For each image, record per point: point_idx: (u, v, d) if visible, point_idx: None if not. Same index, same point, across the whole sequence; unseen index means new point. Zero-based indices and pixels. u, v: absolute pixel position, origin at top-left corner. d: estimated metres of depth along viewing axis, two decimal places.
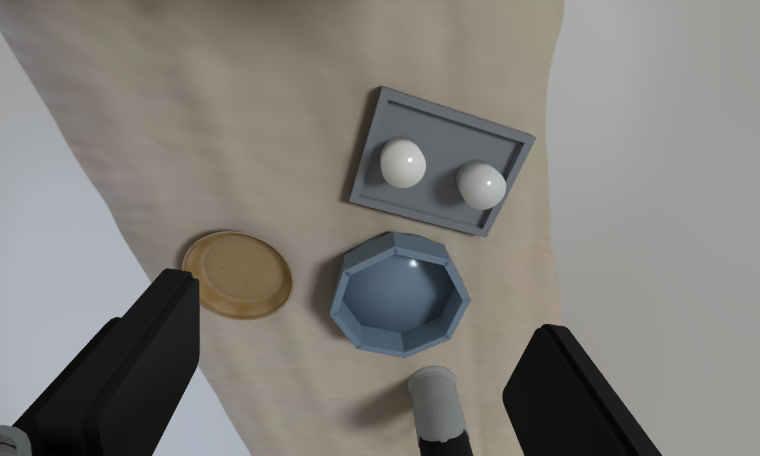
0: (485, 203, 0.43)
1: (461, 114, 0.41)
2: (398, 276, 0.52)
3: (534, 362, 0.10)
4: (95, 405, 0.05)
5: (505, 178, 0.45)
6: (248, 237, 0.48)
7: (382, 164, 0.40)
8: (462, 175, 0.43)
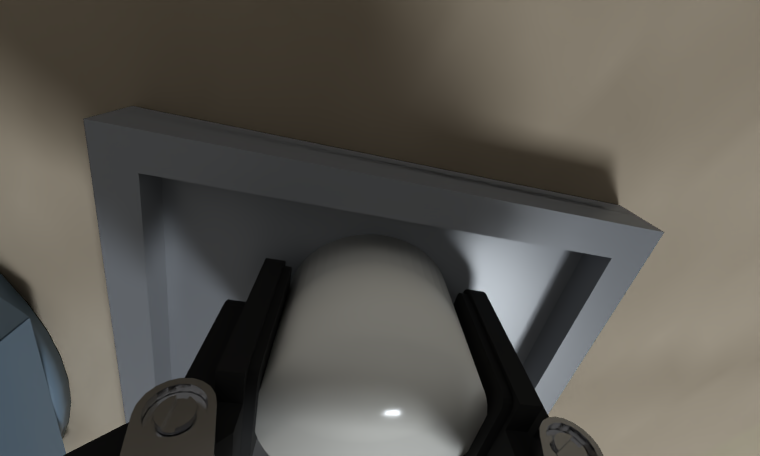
0: None
1: None
2: None
3: None
4: (252, 364, 0.07)
5: None
6: None
7: (378, 340, 0.07)
8: None
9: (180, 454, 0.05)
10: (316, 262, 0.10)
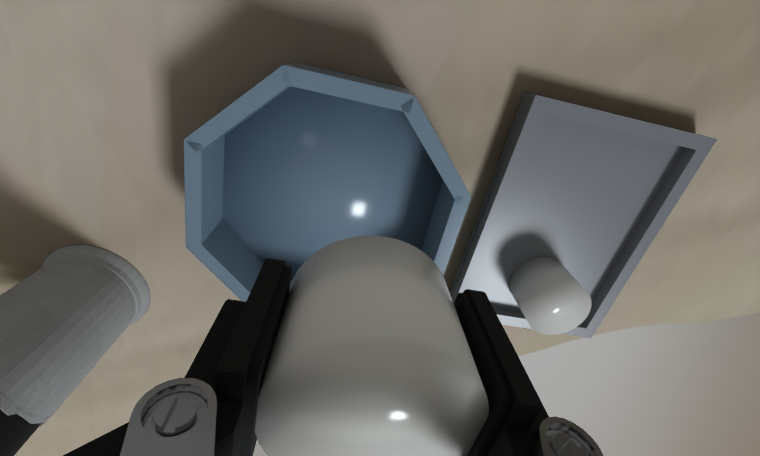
0: (537, 315, 0.28)
1: (644, 251, 0.30)
2: (361, 198, 0.28)
3: None
4: (252, 364, 0.07)
5: None
6: None
7: (379, 342, 0.07)
8: (565, 272, 0.29)
9: (180, 454, 0.05)
10: (316, 263, 0.10)
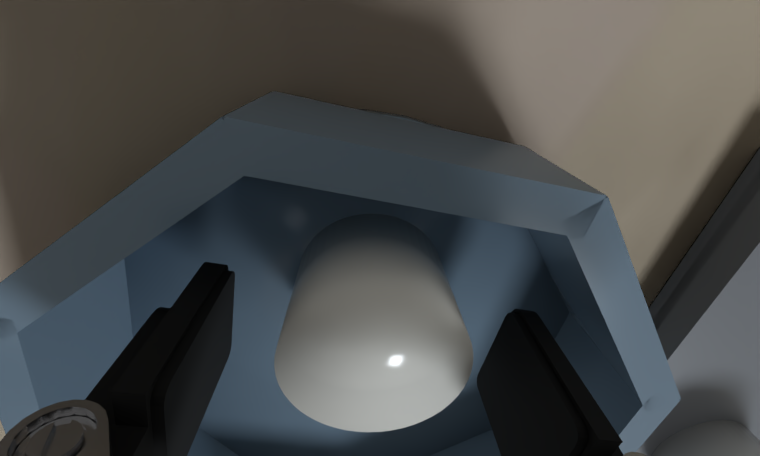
0: None
1: None
2: None
3: (504, 345, 0.10)
4: (159, 383, 0.06)
5: None
6: None
7: (380, 291, 0.08)
8: None
9: None
10: (325, 237, 0.11)
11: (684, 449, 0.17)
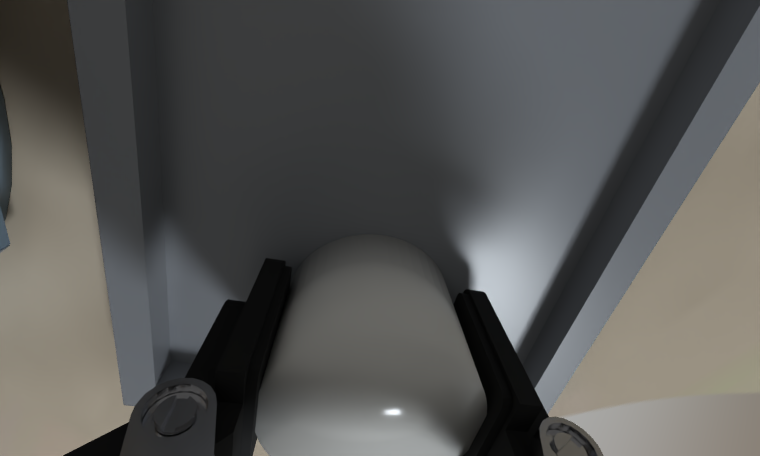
0: (297, 440, 0.08)
1: (671, 211, 0.09)
2: None
3: None
4: (252, 364, 0.07)
5: None
6: None
7: None
8: (408, 282, 0.08)
9: (180, 454, 0.05)
10: None
11: (296, 279, 0.10)
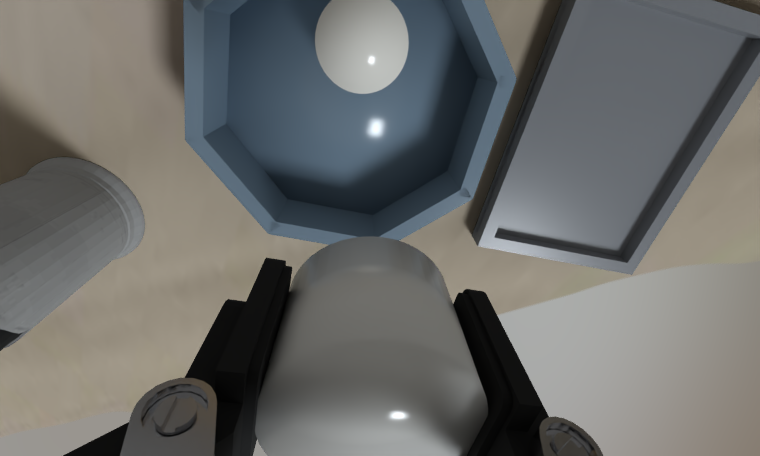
0: (298, 443, 0.08)
1: (698, 168, 0.26)
2: (384, 99, 0.24)
3: None
4: (253, 364, 0.07)
5: (573, 250, 0.30)
6: None
7: None
8: (409, 284, 0.08)
9: (180, 454, 0.05)
10: None
11: (296, 281, 0.10)
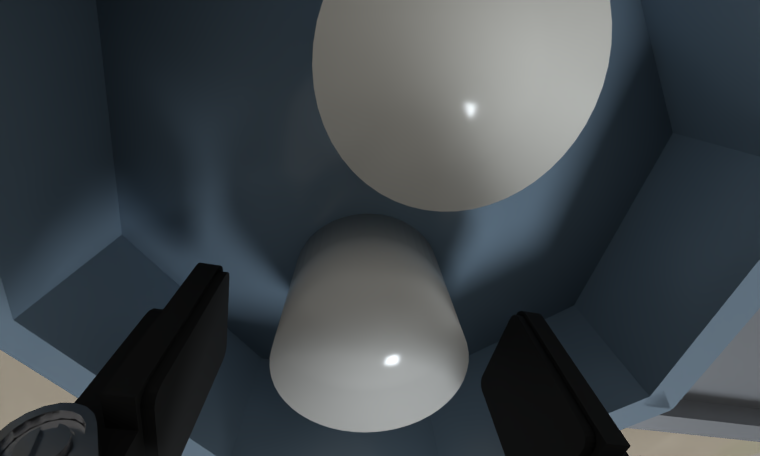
0: (306, 384, 0.09)
1: None
2: None
3: (509, 348, 0.10)
4: (150, 385, 0.06)
5: None
6: None
7: None
8: (402, 250, 0.10)
9: None
10: None
11: (303, 253, 0.11)
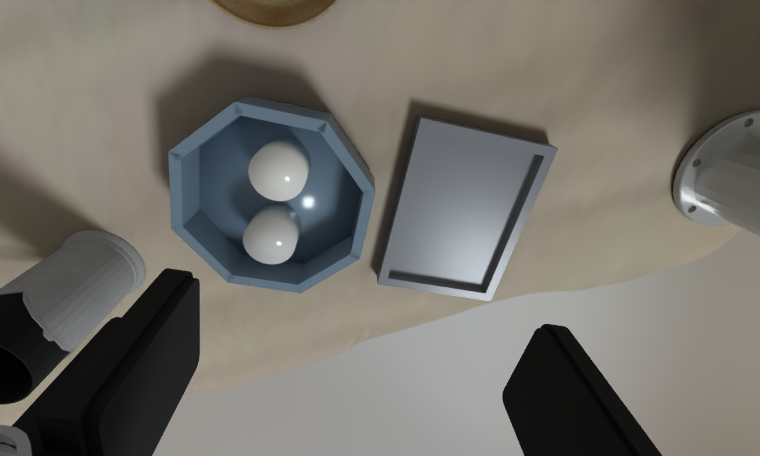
0: (252, 247, 0.35)
1: (519, 232, 0.39)
2: (303, 192, 0.37)
3: (534, 362, 0.10)
4: (95, 405, 0.05)
5: (446, 285, 0.43)
6: None
7: (274, 148, 0.31)
8: (279, 212, 0.36)
9: None
10: (266, 143, 0.34)
11: None
